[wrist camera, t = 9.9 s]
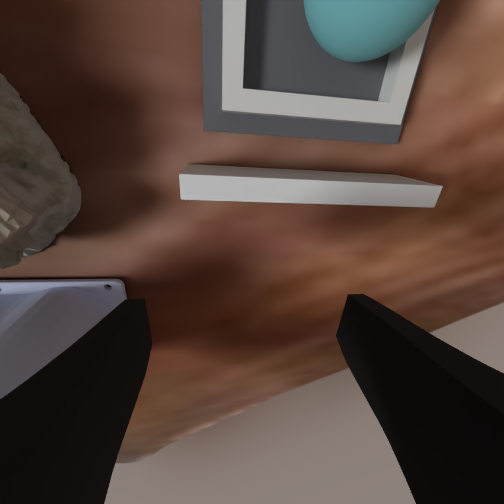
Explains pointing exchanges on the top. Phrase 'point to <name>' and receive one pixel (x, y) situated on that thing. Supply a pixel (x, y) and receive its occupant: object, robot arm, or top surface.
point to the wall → (304, 186)
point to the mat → (299, 76)
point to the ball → (365, 25)
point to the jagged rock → (30, 182)
